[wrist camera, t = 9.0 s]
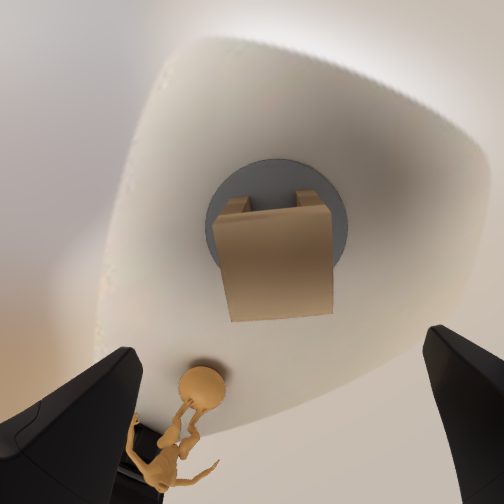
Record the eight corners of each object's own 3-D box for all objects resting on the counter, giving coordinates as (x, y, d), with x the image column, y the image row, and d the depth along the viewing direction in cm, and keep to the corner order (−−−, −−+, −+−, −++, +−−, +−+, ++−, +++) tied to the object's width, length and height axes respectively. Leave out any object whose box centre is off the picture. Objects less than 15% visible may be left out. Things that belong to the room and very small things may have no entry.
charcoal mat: (284, 313, 20) (284, 316, 20) (181, 240, 19) (179, 242, 18) (372, 222, 17) (374, 224, 17) (264, 129, 16) (264, 129, 15)
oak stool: (318, 265, 18) (332, 313, 13) (242, 272, 19) (231, 322, 14) (313, 189, 16) (331, 213, 11) (230, 198, 17) (212, 225, 12)
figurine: (254, 387, 24) (241, 507, 13) (211, 408, 26) (188, 510, 15) (184, 334, 22) (133, 462, 11) (146, 362, 24) (97, 467, 13)
